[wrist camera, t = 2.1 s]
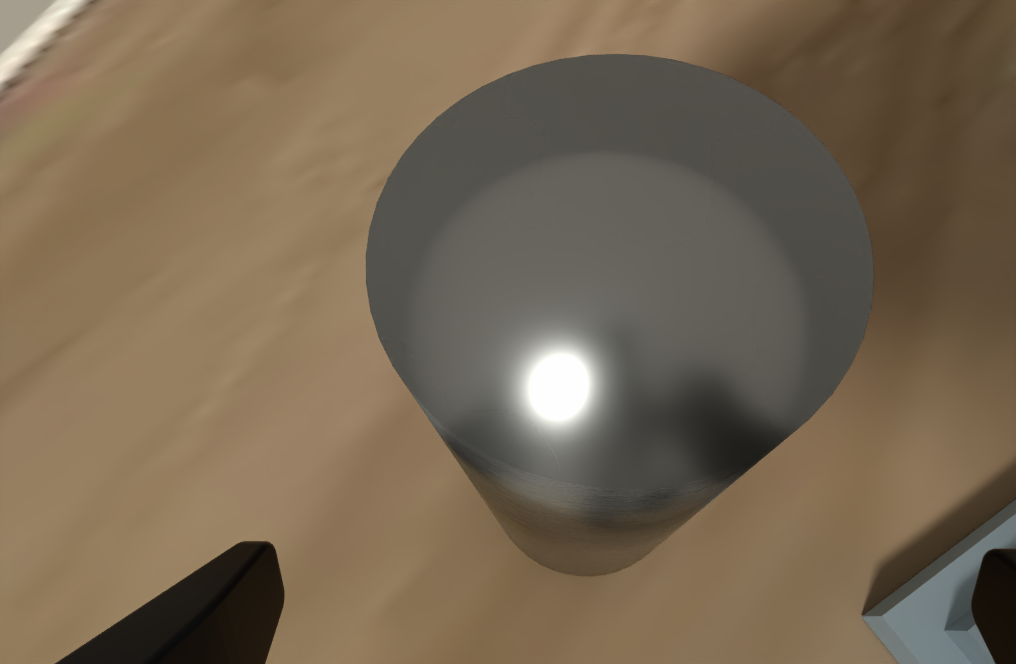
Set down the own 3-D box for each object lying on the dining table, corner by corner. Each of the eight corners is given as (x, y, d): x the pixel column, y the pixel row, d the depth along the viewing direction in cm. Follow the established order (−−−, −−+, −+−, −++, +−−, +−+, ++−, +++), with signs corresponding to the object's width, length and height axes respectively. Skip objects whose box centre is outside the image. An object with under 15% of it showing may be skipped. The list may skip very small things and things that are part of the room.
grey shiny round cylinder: (720, 504, 18) (993, 294, 7) (556, 618, 18) (537, 609, 6) (605, 353, 21) (657, -8, 9) (455, 448, 20) (288, 189, 8)
